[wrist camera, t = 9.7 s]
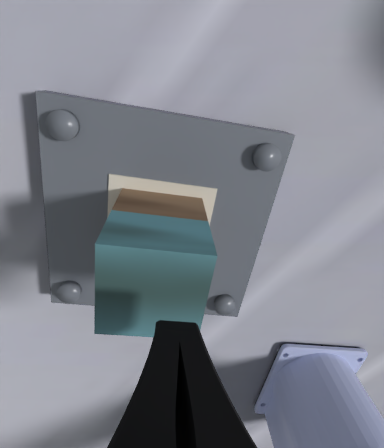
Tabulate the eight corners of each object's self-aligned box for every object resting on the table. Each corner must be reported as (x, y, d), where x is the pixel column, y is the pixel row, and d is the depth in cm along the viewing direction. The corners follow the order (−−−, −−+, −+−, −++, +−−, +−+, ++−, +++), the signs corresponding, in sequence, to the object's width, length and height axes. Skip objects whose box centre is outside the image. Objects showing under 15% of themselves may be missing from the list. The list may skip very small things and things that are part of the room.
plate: (234, 305, 21) (238, 323, 20) (57, 290, 20) (47, 308, 18) (286, 131, 16) (299, 137, 14) (45, 90, 14) (29, 91, 12)
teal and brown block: (189, 263, 18) (197, 339, 12) (118, 256, 17) (94, 333, 12) (202, 198, 16) (217, 256, 10) (122, 188, 15) (94, 243, 10)
